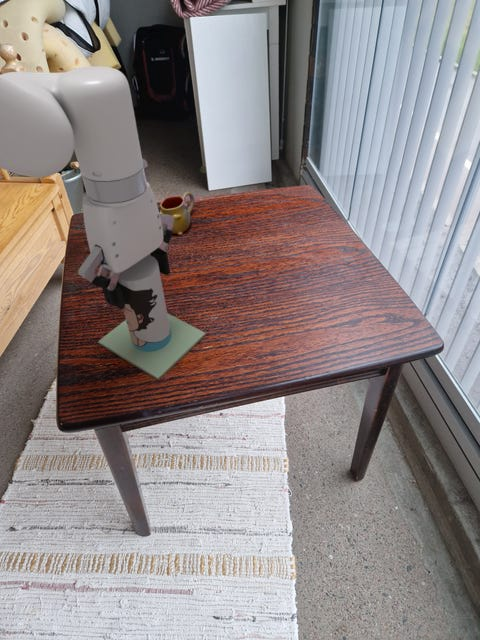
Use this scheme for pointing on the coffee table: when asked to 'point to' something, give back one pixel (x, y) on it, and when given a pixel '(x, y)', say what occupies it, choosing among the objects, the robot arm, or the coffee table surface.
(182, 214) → the mug
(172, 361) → the mat
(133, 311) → the cup
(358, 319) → the coffee table surface
